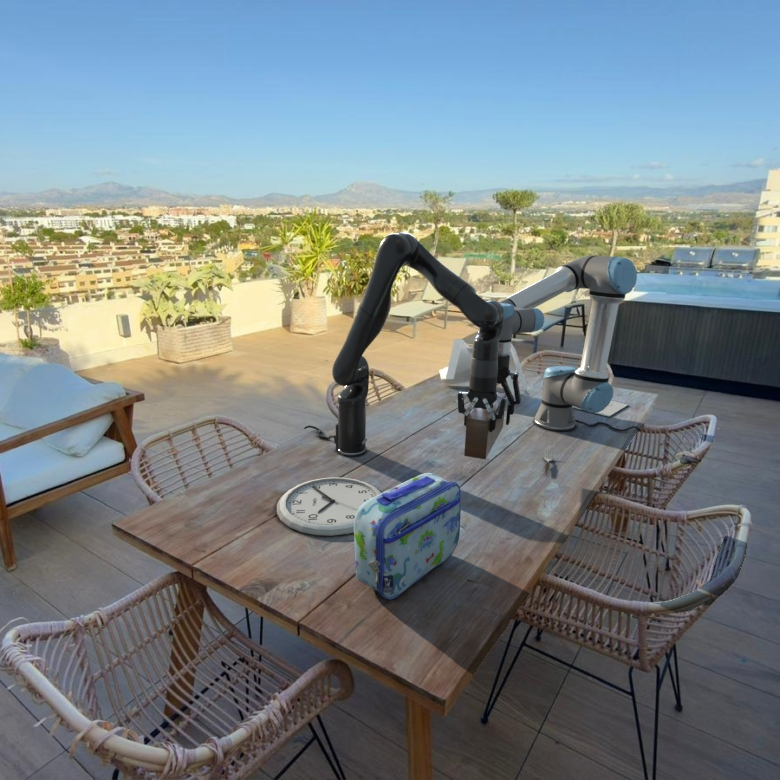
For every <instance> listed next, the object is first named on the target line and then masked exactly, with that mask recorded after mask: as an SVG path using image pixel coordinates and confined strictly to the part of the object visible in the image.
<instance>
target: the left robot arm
mask: <svg viewBox="0 0 780 780" xmlns="http://www.w3.org/2000/svg"><path fill="white" fill-rule="evenodd" d="M405 266H406V267H409V268H411V269H413V270H414V271H416V272H418V273H420V274H421V275H422V276H423V277H424V278H425V279H426V280H427V282H429V284H430V285H431V287H432V288H433V289H434V290H435V291H436V292H437V293H438V295H440V297H442V298H443V299H445V300H446V301H447V302H449V304H451V305H452V306H454V307H455V308H457V309H458V310H459V311H460V312H461V313H462V315H463V316H465V318H466V319H467V320H468V321H469V322H470V323H472V324H473V326H475V327H477V329H478V330H477V334H476V336H475V337H474V339H473V342H472V347H473V354H472V361H471V369H470V382H469V383H468V384H469V386H468V391H463V390H459V392H458V393H457V411H458V413H459V414H462V415H463V416H464V417H463V418H464V419H463V425H464V427H466V422H467V417H468V416H469V414H470V413H471V412H472V410H473V408H474V407H475V408H482V409H487V411H488V413H489V414H490V417H491V420H490V432H492V431H493V430H494V429H495V428H496V419H502V417H503V415H504V416H505V410H506V406H507V401H508V398H507V396H506V397H498V396H497V394H496V392H497V385H498V383H497V374H498V351H499V340H500V336H501V332H502V328H503V323H504V309H503V307H502V305H501V304H500V303H499V302H500V301H497V300H493V299H490V300H484V298H482V297H481V296H480V295H479V294H477V290H476V288H474V286H472V285H471V284H470V283H468V282H467V281H466V280H465V279H463V278H461V277H460V276H459V275H457V274H456V273H455V272H453V271H452V270H450V268H447V266H445V265H444V263H442V262H441V261H440V260H439V259H437V258H436V257H435V256H434V255H433V254H432V253H431V252H430V251H429V250H428V249H427V248H426V247H425V246H424V245H423V244H422V243H421V242H420V241H419V240H418V239H417V238H416V237H415V236H414V235H412V234H411V233H409V232H396V233H390V234H388V235H385V237H383V238H382V240H381V242H380V244H379V247H378V250H377V253H376V257H375V260H374V263H373V268H372V271H371V275H370V277H369V280H368V281H367V285H366V287H365V290H364V292H363V295H362V298H361V299H360V302H359V304H358V308H357V309H356V312H355V314H354V317H353V321H352V323H351V326H350V328H349V330H348V333H347V336H346V339H345V341H344V342H343V345H342V346H341V349H340V350H339V353H338V355H337V356H336V358H335V360H334V362H333V365H332V370H331V371H332V372H331V373H332V378H333V381H334V382H335V383H336V384H337V385H338V386H341V387H343V389H342V390H341V391H340V392H339V393H338V395H337V423H336V424H335V434H333V435H331V434H330V435H328V436H325V435H324V436H322V435H321V433H322V430H321V429H320V428H318V427H317V426H314V425H306V426H304V427H303V430H306V429H309V428H311V429H314V430H316V431H317V433H316V436H317V437H318V438H319V439H323V440H329V439H331V438H332V439H333V444H335V451H336V452H338V454H341V456H347V457H357V456H361V455H364V454H365V453H366V452H367V447H366V446H367V445H366V442H368V438H367V436H366V435H367V433H366V431H367V429H366V428H367V427H366V425H367V424H366V423H367V413H366V412H367V411H366V410H367V409H366V407H367V405H366V404H367V401H366V400H367V397H368V394H369V387H370V386H369V385H370V384H369V383H370V367H369V363H368V360H367V359H366V357H365V356H363V355H364V354H365V352H366V350H367V349H368V347H369V346H370V345H372V343H373V342H374V341H375V339H376V338H377V337H378V336H379V335H380V333H381V332H382V330H383V328H384V326H385V324H386V322H387V320H388V317H389V314H390V312H391V309H392V308H391V307H392V290H393V285H394V283H395V280H396V278H397V276H398V274H399V272H400V270H401V269H402V267H405ZM466 398H467V399H468V400H469V402H470V404H469V406H468V407H467V408H465V400H466ZM496 400H497V401H498V404H499V405H500V409H499V413H497V414H496V411H495V408H494V405H493V403H494V402H495V401H496Z"/></svg>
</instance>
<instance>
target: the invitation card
mask: <svg viewBox="0 0 780 780" xmlns="http://www.w3.org/2000/svg"><path fill="white" fill-rule="evenodd" d="M628 406H629V404H627V403H623V402H618V401H614V400H611V401H610V403H609V404H608V406H607V407H606V408H605V409H604V410H602V411H600V412H597V413H595V414H596V415H600V416H604V417H608V418H609V417H611V416H613V415H614V414H616V413H617V412H619V411H621V410H623V409H624V408H626V407H628ZM573 409H575V410H581V411H583V410H582V409H580V408H578V407H575V406H573ZM587 413H590V412H589V411H587Z"/></svg>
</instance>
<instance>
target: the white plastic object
mask: <svg viewBox="0 0 780 780" xmlns="http://www.w3.org/2000/svg"><path fill="white" fill-rule="evenodd" d="M472 354H473V346H469V345H468V343H466V342H465V340H464V339H463V338H460V339H458V338H454V340H453V344H452V349H451V353H450V357H449V362H448V366H446V367H444V368H442V369H440V370H439V371H438V372H439V376H440V381H442V383H443V384H444V385H445V386H449V385H458V384H467V383H468V384H469V383H470V369H471V361H472ZM508 355H509V356H510V361H511V360H513V363H514V366H515V369H516V372H518V373H519V376H518V380H519V382H520V385H521V389H522V391H523V393H524V395H525V396H526V397H528V396H531V395H530V390H529V388H528V387H529V386H528V384H527V381H526V378H525V375H524V371H523V369H522V368H523V367H522V366H521V362H520V359H519V355H518V352H517V349H516V347H515V346H514V345H513V343H511V351H510V354H508ZM506 380H507V384H508V386H509V388H510V391H511V393H512V395H513V398H515V394H514V387H513V380H512V379H511V376H508V377H507V378H506Z"/></svg>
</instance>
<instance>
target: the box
mask: <svg viewBox="0 0 780 780" xmlns="http://www.w3.org/2000/svg"><path fill="white" fill-rule="evenodd" d="M496 394H497V396H498V397H506V398H507V396H506V394H505V392H504V393H503V392H497V391H496ZM493 405H494V408H495V411H496V414H497V413H499V409H500V405H499V404H498V401H497V400H496V401H495V402H494V403H493ZM504 419H505V414H504V415H503V417H502V419H496V428H495V429H494V430H493V431H492V432H490V420H491V417H490V414H489V413H488V411H487V409H482V408H474V409H472V411H471V412H470V414H469V416H468V417H467V422H466V426H465V438H464V453H463V456H464V457H467V458H474V459H479V460H487V458H488V456H489V454H490V452H491V451H492V449H493V447H494V445H495V443H496V441H497V440H498V438H499V435H500V433H501V432H502V430H503V429H504Z"/></svg>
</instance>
